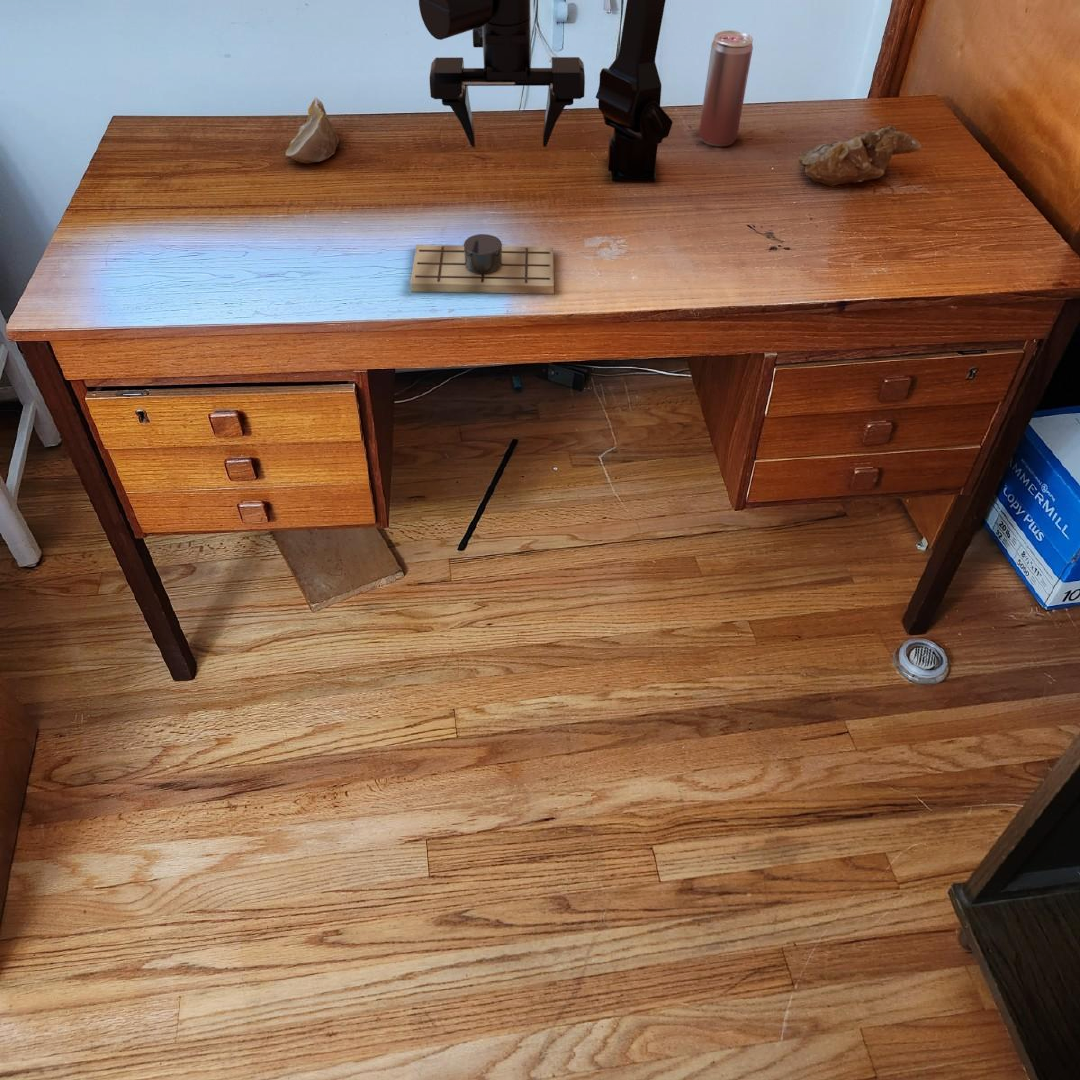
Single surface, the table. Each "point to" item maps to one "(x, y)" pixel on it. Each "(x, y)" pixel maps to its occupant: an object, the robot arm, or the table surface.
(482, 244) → the dark brown cylinder
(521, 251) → the board
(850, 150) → the mineral specimen
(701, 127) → the beverage can
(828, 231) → the table surface
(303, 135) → the stone
